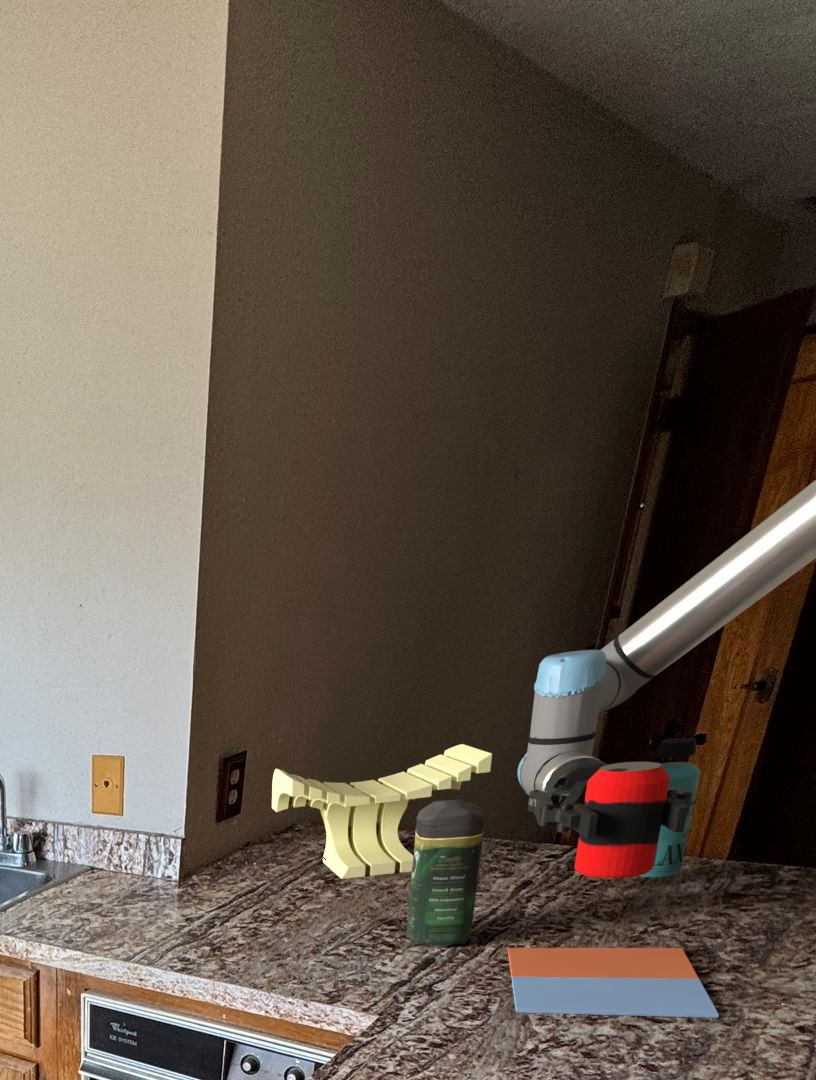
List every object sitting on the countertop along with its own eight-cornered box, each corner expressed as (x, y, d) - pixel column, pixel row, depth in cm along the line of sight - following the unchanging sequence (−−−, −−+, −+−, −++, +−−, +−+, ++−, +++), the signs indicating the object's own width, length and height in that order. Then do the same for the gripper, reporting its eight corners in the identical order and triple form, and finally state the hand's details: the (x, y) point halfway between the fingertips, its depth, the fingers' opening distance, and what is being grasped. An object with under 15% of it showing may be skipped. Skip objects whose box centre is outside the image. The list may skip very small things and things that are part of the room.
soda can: (559, 873, 120) (574, 771, 115) (601, 859, 123) (617, 759, 117) (625, 882, 114) (644, 774, 109) (668, 867, 116) (688, 761, 111)
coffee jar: (474, 948, 133) (490, 807, 125) (407, 949, 136) (419, 812, 128) (467, 926, 141) (482, 792, 133) (404, 928, 144) (415, 798, 136)
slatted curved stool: (445, 843, 180) (455, 741, 172) (479, 864, 166) (492, 753, 158) (270, 863, 186) (272, 765, 179) (289, 884, 172) (292, 779, 165)
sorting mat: (681, 950, 122) (682, 947, 121) (718, 1018, 105) (719, 1014, 105) (507, 950, 130) (508, 947, 130) (515, 1012, 113) (516, 1009, 113)
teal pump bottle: (623, 887, 145) (649, 745, 136) (624, 875, 150) (648, 737, 141) (681, 887, 141) (710, 741, 133) (680, 875, 146) (708, 733, 137)
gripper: (665, 807, 128) (742, 848, 109) (483, 823, 136) (525, 864, 116) (677, 747, 125) (758, 778, 106) (490, 766, 132) (534, 799, 113)
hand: (636, 823), depth 111 cm, fingers closed on soda can, 7 cm apart
